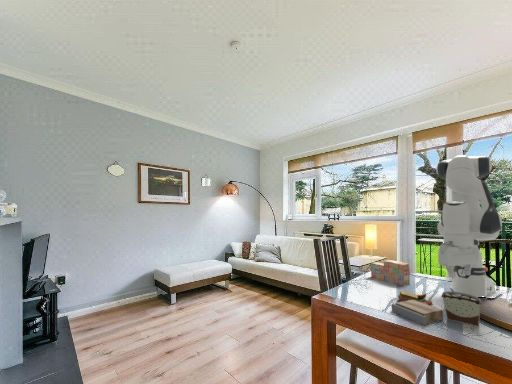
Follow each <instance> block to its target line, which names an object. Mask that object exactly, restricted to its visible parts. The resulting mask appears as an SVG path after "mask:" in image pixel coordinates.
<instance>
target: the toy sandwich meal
mask: <svg viewBox="0 0 512 384" xmlns="http://www.w3.org/2000/svg"><path fill="white" fill-rule="evenodd" d="M397 297H398V299H399V300H400V302H403V301H408V300H416V301H419V302H422V303H425V304H427V305H430V306H433V305H434V303H433V301H432V300H429V299H425V298H426V297H427V294H426V293H424V294H417V293H414V292H409V291H406V290H404V289H403V290H402V289H401V290H399V295H398V296H397ZM433 307H434V306H433Z"/></svg>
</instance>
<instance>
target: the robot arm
mask: <svg viewBox="0 0 512 384" xmlns="http://www.w3.org/2000/svg"><path fill="white" fill-rule="evenodd" d="M492 169H493V163H492V161H491V159H490V158H489V157H488V156H485V155H484V156H482V155H479V156H466V155H457V156H454V157H453V158H451V159H444V160H441V161H440V162H438V163H437V166H436V169H435V170H436V174H437V176H438V177H439V178H440V179H442V180H445V183H446V187H448V188H449V189H450V190H451V201H446V202H444V203H443V205H442V214H441V215H440V221H439V222H438V224H437V226H436V227H437V231H438V233H439V235H440V236H442V237H443V242H442V243H441V244H440V246H439V248H438V254H437V255H438V256H437V261H438V264H439V265H440V266H442V267H445V269H446V271H447V274H448V277H449V278H452V280H451V281H452V285H450V286H449V289H451V290H452V292H460V293H465V294H469V295H473V296H476V297H482V296H484V297H492V296H493V297H495V296H497V295H498V294H500V293H502V292H501V291H500V290H496V287H495V285H496V284H495V282H494V281H493V280H492V279H491V278H490V277H489V276H488V275H487V273H486V272H488V270H489V269H488V267H485V266H484V265H483V254H482V252H481V251H480V248H479V246H480V241H481V242H482V241H484V242H485V241H494V240H496V239H497V238H498V236H500V231H501V229H502V227H503V220H502V217H501V215H500V213H499V212H498V211H497V208H496V206H495V202H494V200H493V197H492V194H491V191H490V190H489V187H488V184H487V183H486V181H484V180H482V179H483V178H486V177H487V176H489V174H490V173H491V171H492Z"/></svg>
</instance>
